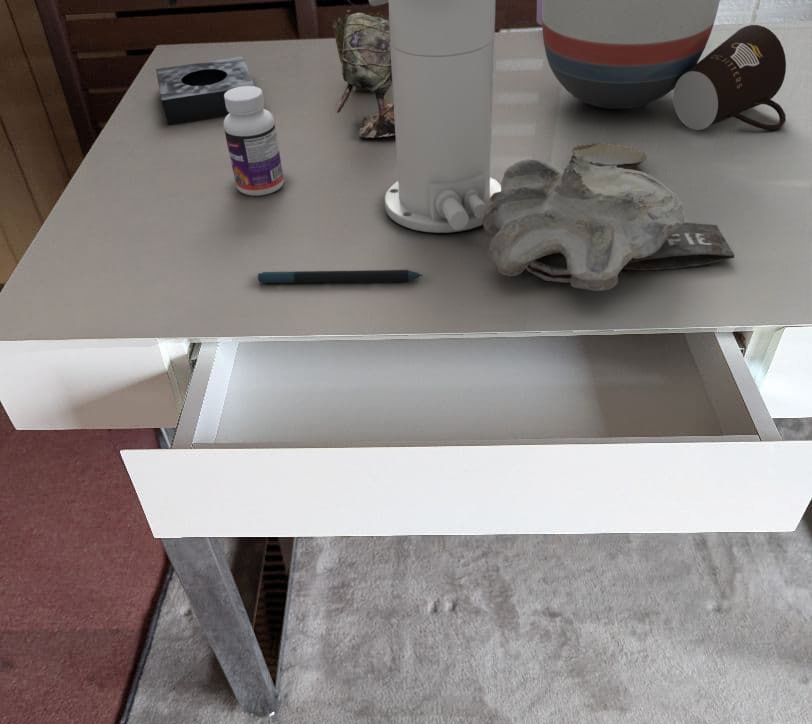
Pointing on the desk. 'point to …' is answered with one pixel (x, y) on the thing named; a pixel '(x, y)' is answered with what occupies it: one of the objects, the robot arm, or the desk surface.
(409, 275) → the pen
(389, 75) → the plant with pod
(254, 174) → the pill bottle
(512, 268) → the fossil
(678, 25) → the planter
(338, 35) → the green rounded lump
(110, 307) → the desk surface
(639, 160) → the seashell
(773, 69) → the coffee mug
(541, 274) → the dark snack bar packet
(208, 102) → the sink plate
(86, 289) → the desk surface
